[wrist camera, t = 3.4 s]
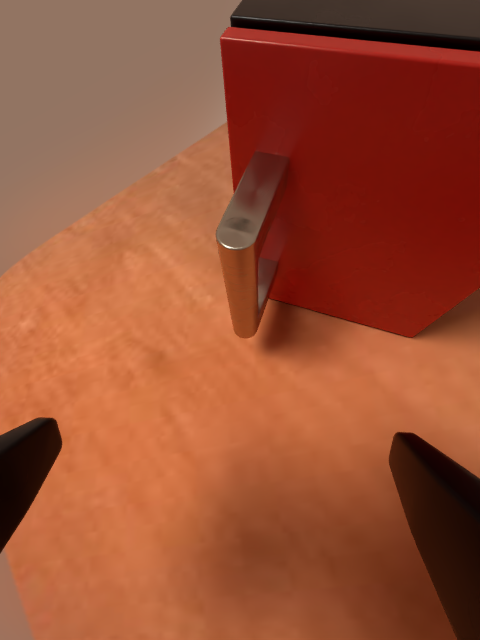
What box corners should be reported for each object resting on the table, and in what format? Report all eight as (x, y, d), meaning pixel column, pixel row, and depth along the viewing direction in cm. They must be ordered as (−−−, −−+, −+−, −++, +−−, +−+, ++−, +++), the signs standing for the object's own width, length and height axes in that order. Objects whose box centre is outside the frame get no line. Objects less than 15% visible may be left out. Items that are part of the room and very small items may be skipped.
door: (403, 407, 20) (851, 270, 5) (219, 347, 22) (144, 138, 7) (413, 329, 22) (736, 75, 7) (245, 283, 24) (227, 25, 10)
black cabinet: (412, 326, 22) (741, 62, 7) (246, 281, 25) (229, 15, 10) (424, 230, 26) (655, -77, 11) (278, 199, 28) (303, -85, 13)
